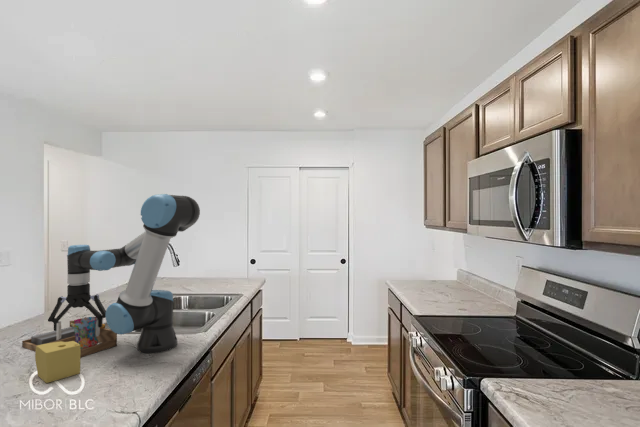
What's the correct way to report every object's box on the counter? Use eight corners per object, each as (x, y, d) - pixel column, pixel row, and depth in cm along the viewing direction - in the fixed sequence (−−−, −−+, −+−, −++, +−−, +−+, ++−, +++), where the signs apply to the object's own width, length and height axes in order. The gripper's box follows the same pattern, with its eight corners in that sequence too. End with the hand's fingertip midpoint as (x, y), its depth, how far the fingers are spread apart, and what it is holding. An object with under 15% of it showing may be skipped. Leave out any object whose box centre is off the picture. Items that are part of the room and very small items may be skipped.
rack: (117, 345, 152) (117, 326, 152) (66, 361, 135) (67, 340, 135) (72, 333, 167) (72, 316, 167) (21, 347, 150) (22, 328, 150)
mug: (89, 350, 143) (87, 323, 143) (66, 351, 144) (64, 324, 143) (109, 339, 155) (107, 314, 155) (88, 340, 156) (86, 315, 155)
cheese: (70, 365, 132) (71, 337, 132) (82, 374, 125) (82, 344, 125) (34, 375, 124) (35, 345, 124) (44, 385, 117) (44, 353, 117)
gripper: (115, 280, 156) (115, 331, 156) (46, 283, 148) (45, 337, 148) (111, 283, 149) (111, 337, 148) (38, 287, 141) (37, 343, 141)
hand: (78, 337), depth 148 cm, fingers open, 13 cm apart
